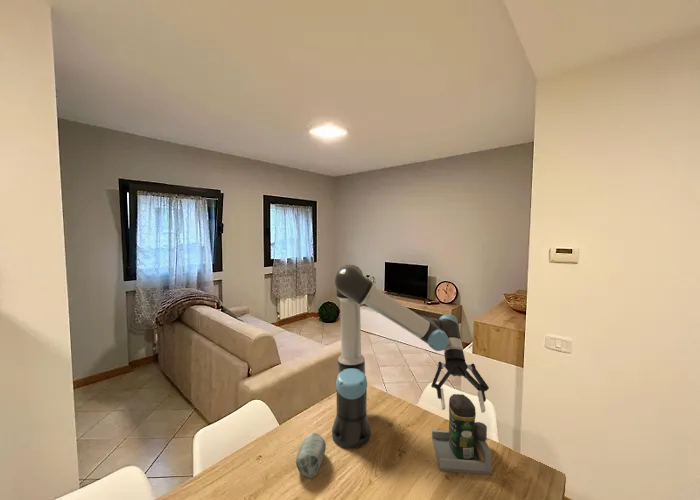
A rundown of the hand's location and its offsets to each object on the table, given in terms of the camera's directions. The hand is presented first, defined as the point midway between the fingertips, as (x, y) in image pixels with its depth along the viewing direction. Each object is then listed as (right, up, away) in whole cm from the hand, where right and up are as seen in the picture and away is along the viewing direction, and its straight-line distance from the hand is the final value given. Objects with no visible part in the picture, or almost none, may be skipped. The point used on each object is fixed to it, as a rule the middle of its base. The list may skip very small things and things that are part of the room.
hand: (463, 410), depth 100 cm
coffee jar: (-1, -14, 0) cm, 14 cm away
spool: (-53, -15, -6) cm, 56 cm away
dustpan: (-2, -15, -1) cm, 15 cm away
